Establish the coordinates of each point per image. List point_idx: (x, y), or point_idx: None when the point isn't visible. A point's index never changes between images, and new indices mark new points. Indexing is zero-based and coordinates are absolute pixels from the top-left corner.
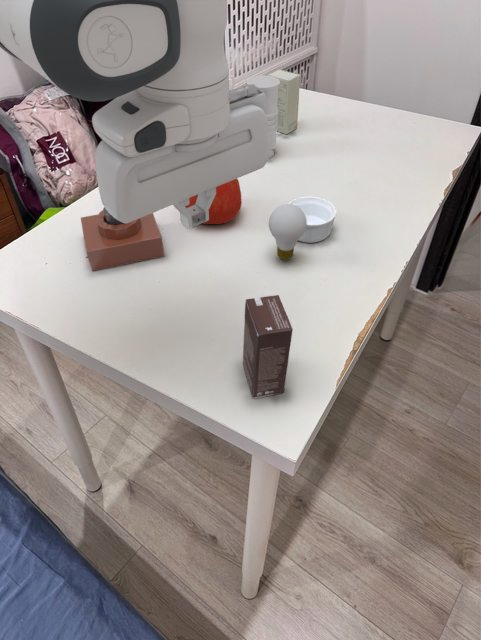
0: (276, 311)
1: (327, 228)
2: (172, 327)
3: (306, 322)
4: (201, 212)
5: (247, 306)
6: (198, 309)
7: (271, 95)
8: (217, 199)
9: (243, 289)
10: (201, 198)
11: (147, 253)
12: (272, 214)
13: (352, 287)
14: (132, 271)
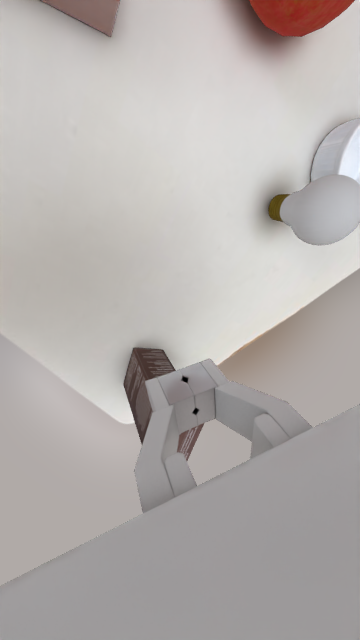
0: (187, 443)
1: None
2: (68, 261)
3: (219, 318)
4: (206, 419)
5: None
6: (120, 244)
7: None
8: None
9: (194, 237)
10: (239, 414)
11: (68, 3)
12: (328, 196)
13: (284, 292)
14: (15, 34)
